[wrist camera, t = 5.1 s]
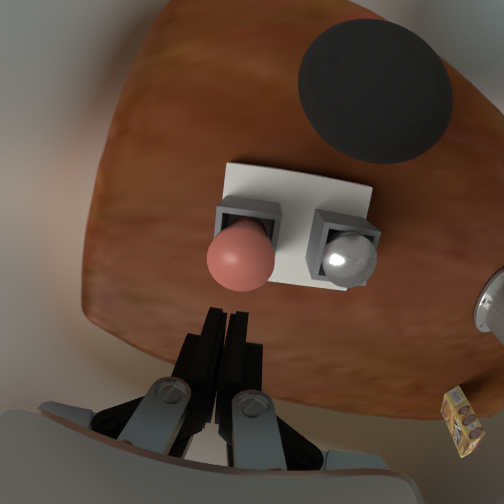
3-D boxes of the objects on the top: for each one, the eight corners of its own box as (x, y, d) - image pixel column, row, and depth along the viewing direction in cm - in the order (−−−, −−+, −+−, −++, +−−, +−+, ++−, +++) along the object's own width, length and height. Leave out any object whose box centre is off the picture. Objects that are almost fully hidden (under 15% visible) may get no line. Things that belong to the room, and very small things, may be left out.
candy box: (443, 392, 40) (469, 445, 26) (459, 383, 39) (486, 434, 25) (439, 411, 43) (460, 459, 29) (454, 403, 42) (476, 449, 28)
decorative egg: (406, 77, 22) (489, 47, 8) (386, 173, 27) (471, 201, 13) (303, 39, 22) (329, -38, 8) (279, 140, 26) (291, 131, 12)
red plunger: (277, 213, 24) (280, 233, 18) (269, 262, 26) (269, 295, 20) (223, 205, 24) (209, 224, 18) (218, 255, 26) (205, 286, 20)
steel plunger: (361, 221, 26) (383, 240, 21) (351, 263, 28) (368, 290, 23) (318, 213, 26) (330, 230, 21) (308, 257, 28) (317, 284, 23)
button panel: (366, 185, 27) (392, 196, 21) (342, 282, 32) (357, 314, 25) (229, 161, 27) (217, 166, 21) (218, 265, 32) (206, 296, 25)
